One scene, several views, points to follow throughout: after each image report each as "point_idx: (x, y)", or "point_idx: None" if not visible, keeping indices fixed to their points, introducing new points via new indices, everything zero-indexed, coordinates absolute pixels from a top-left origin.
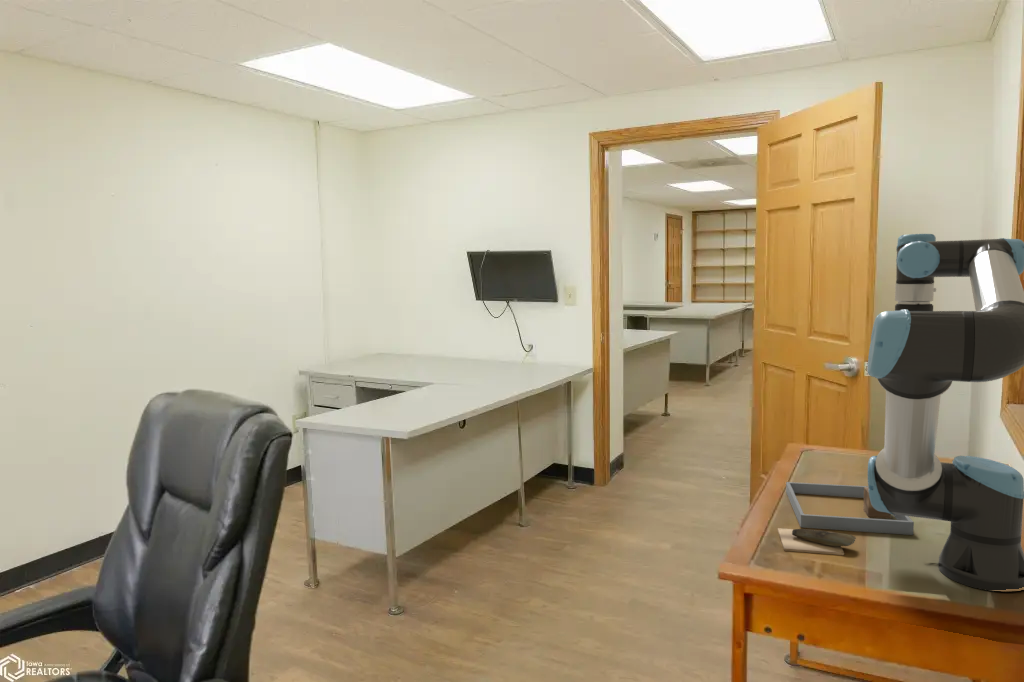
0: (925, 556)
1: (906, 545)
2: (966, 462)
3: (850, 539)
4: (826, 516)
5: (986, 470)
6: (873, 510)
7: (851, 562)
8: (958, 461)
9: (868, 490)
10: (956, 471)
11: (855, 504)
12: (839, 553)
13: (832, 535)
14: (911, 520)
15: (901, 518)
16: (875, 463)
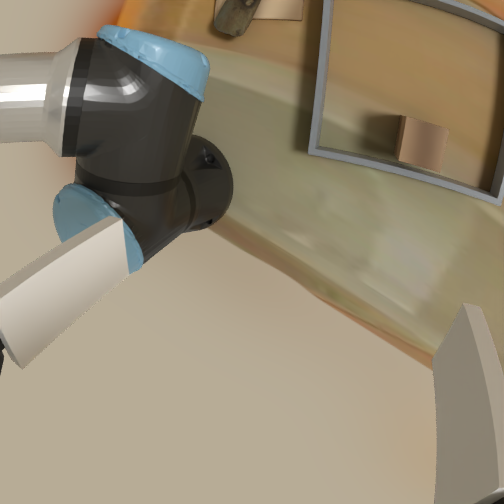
0: (225, 130)
1: (265, 119)
2: (65, 203)
3: (224, 27)
4: (324, 10)
5: (53, 216)
6: (400, 124)
7: (193, 26)
8: (65, 191)
9: (427, 126)
10: (76, 180)
11: (466, 127)
12: (215, 14)
13: (233, 3)
14: (317, 154)
15: (360, 156)
16: (98, 38)
